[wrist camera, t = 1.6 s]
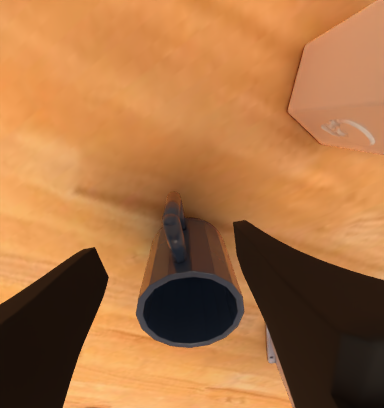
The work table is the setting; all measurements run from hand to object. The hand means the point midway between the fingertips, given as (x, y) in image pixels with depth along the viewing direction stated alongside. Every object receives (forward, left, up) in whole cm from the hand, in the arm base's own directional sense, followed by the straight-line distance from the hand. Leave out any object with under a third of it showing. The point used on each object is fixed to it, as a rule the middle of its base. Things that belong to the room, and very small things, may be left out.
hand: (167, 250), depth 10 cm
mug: (-5, 0, -9) cm, 11 cm away
